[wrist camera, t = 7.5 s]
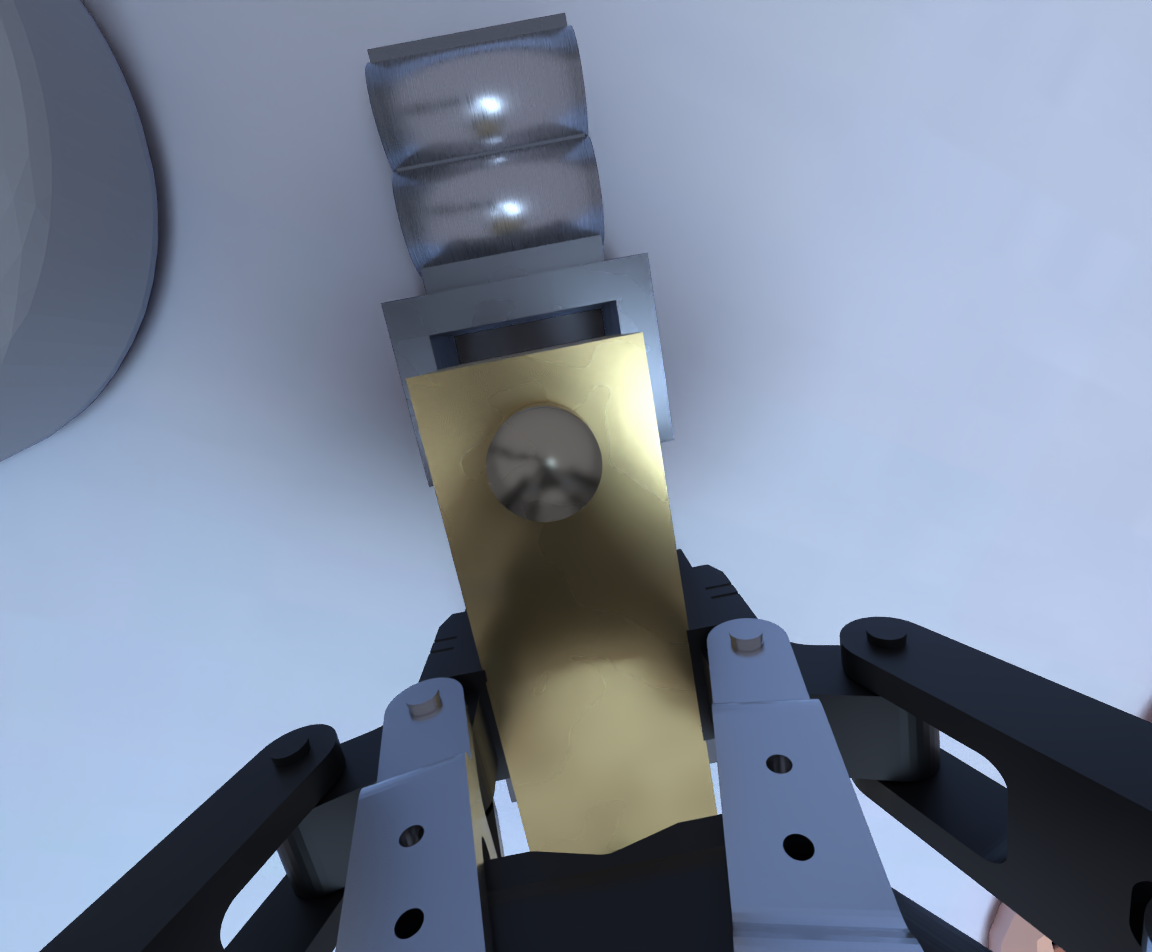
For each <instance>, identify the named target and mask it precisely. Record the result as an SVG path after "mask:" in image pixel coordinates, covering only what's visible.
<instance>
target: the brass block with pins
mask: <svg viewBox="0 0 1152 952" xmlns="http://www.w3.org/2000/svg"><path fill="white" fill-rule="evenodd" d="M406 382H407V386H408V389H409V393H410V397H411V401H412V405H413V408H414V412H415V416H416V420H417V424H418V427H419V431H420V435H421V439H422V443H423V447H424V450H425V454H426V458H427V462H428V466H429V469H430V473H431V477H432V481H433V485H434V488H435V492H436V496H437V500H438V504H439V507H440V511H441V515H442V519H443V523H444V526H445V530H446V534H447V538H448V542H449V545H450V549H451V553H452V557H453V561H454V564H455V568H456V572H457V576H458V580H459V583H460V587H461V591H462V595H463V599H464V602H465V606H466V610H467V614H468V618H469V621H470V625H471V629H472V633H473V637H474V640H475V644H476V648H477V652H478V656H479V659H480V663H481V667H482V670H485V673H486V677H487V681H488V682H486V686H487V690H488V694H489V697H490V701H491V705H492V709H493V713H494V716H495V720H496V724H497V728H498V732H499V735H500V739H501V743H502V747H503V751H504V754H505V758H506V762H507V766H508V770H509V773H510V777H511V781H512V785H513V789H514V792H515V796H516V800H517V804H518V808H519V811H520V815H521V819H522V823H523V827H524V830H525V834H526V838H527V842H528V846H529V849H530V852H531V851H541V852H560V853H579V854H599V855H601V854H609V853H612V852H615V851H617V850H619V849H622V848H624V847H626V846H628V845H630V844H633V843H635V842H637V841H639V840H641V839H643V838H646V837H648V836H650V835H652V834H654V833H657V832H659V831H661V830H663V829H665V828H667V827H670V826H672V825H674V824H676V823H679V822H684V821H689V820H694V819H699V818H704V817H709V816H714V815H717V809H716V803H715V796H714V790H713V783H712V777H711V770H710V764H709V757H708V751H707V744H706V740H705V741H704V740H703V734H702V727H701V721H700V714H699V708H698V702H697V695H696V689H695V682H694V676H693V669H692V663H691V657H690V650H689V644H688V637H687V631H686V630H689V628H688V621H687V615H686V608H685V602H684V595H683V589H682V582H681V576H680V570H679V563H678V557H677V550H676V544H675V537H674V531H673V524H672V518H671V511H670V505H669V498H668V492H667V485H666V479H665V472H664V466H663V459H662V453H661V447H660V440H659V434H658V427H657V421H656V414H655V408H654V401H653V395H652V388H651V382H650V375H649V369H648V362H647V356H646V349H645V343H644V336H643V332H639V333H628V334H618V335H607V336H602V337H597V338H592V339H587V340H582V341H577V342H571V343H566V344H561V345H556V346H551V347H546V348H541V349H536V350H531V351H525V352H520V353H515V354H510V355H505V356H500V357H495V358H490V359H485V360H480V361H474V362H469V363H464V364H459V365H456V366H452V367H448V368H444V369H440V370H436V371H433V372H429V373H425V374H421V375H417V376H414V377H410V378H406Z"/></svg>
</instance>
